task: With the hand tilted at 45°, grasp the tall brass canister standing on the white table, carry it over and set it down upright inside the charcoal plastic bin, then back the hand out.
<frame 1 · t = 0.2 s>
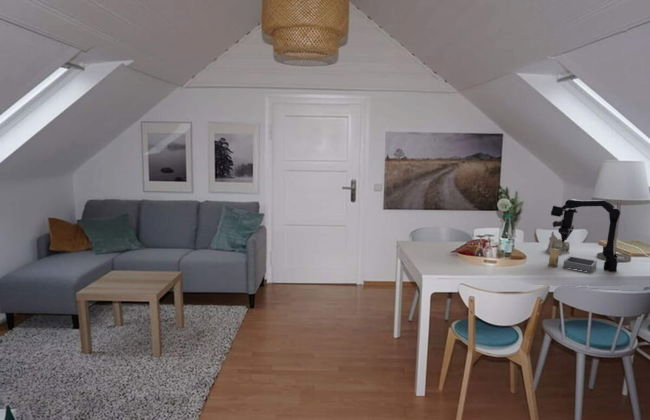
hand: (564, 241, 308), 14 cm above the table, tool pointing down, fingers open, 9 cm apart
ceramic cottage: (558, 252, 335), on the table
charcoal bin: (579, 267, 298), on the table
brass canister: (552, 266, 300), on the table
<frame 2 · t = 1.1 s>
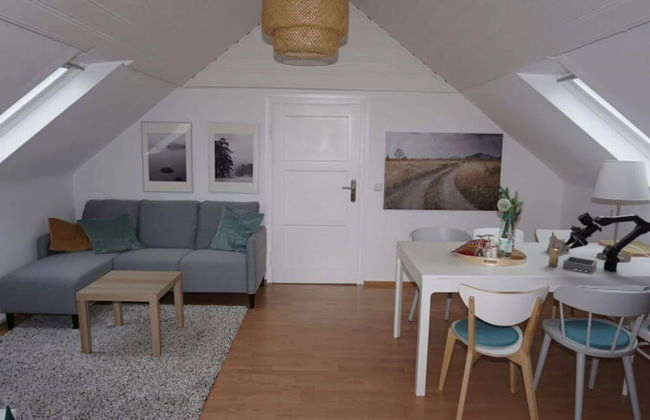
hand: (567, 246, 297), 13 cm above the table, tool tilted 45°, fingers open, 9 cm apart
nothing on the table moved.
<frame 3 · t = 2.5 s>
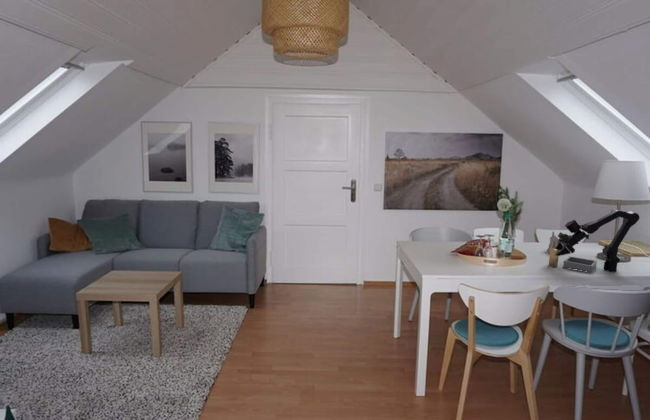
hand: (555, 253, 299), 8 cm above the table, tool tilted 45°, fingers open, 9 cm apart
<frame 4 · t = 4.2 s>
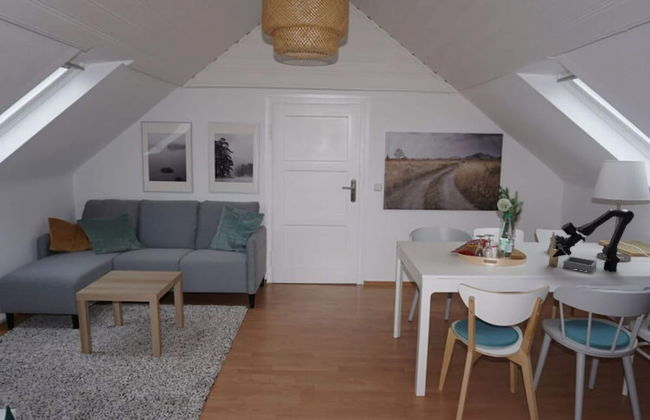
hand: (551, 255, 299), 7 cm above the table, tool tilted 45°, fingers closed on brass canister, 5 cm apart
brass canister: (552, 266, 300), on the table, touching gripper
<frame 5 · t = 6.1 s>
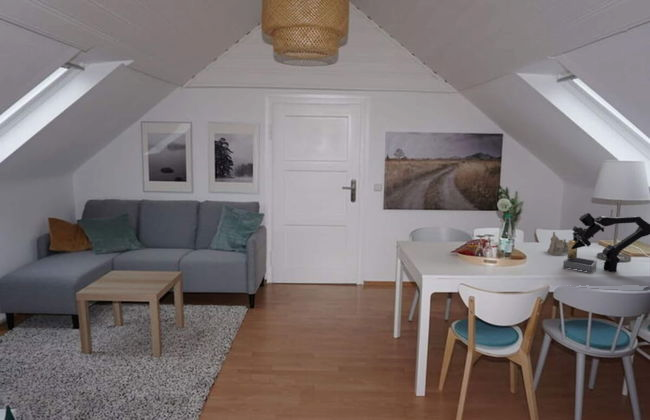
hand: (570, 247, 297), 13 cm above the table, tool tilted 45°, fingers closed on brass canister, 5 cm apart
brass canister: (571, 257, 298), point 6 cm above the table, touching gripper
when the fingers open (9 cm above the table, at t = 8.3 s): brass canister drops 1 cm, resting on charcoal bin.
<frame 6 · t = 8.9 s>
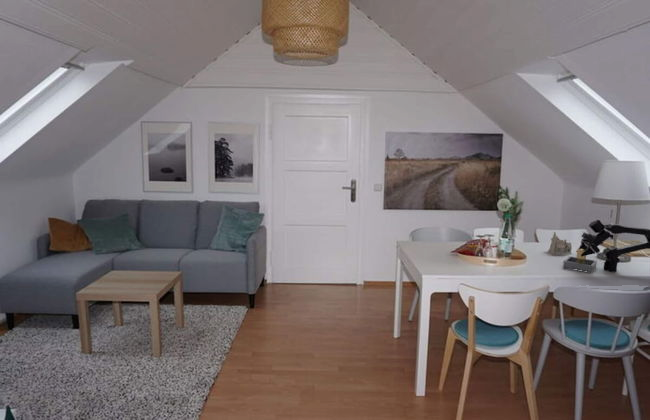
hand: (578, 253, 297), 9 cm above the table, tool tilted 45°, fingers open, 9 cm apart
brass canister: (580, 266, 298), point 1 cm above the table, touching charcoal bin
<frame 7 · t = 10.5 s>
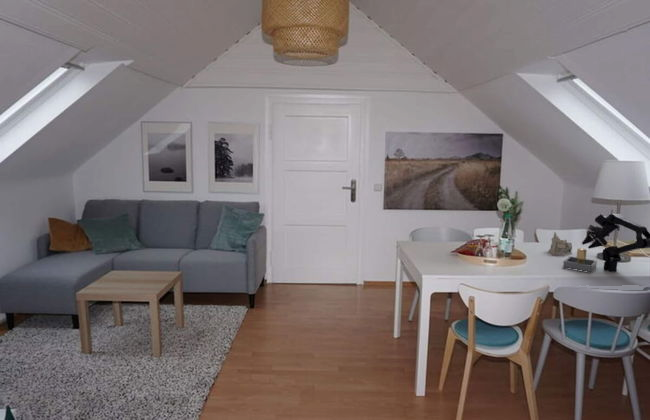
hand: (585, 246, 298), 14 cm above the table, tool tilted 45°, fingers open, 9 cm apart
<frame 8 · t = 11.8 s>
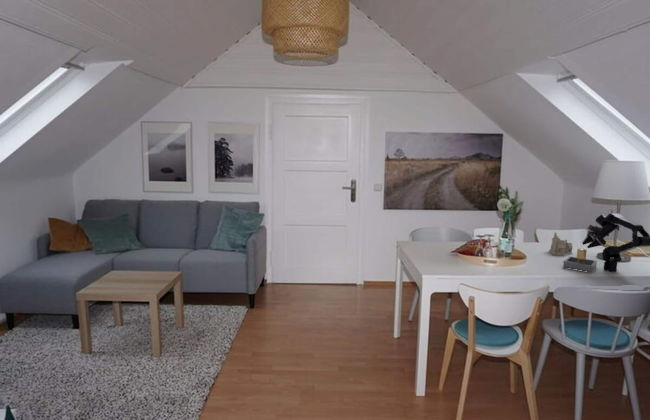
hand: (585, 245, 299), 14 cm above the table, tool tilted 45°, fingers open, 9 cm apart
at the end: brass canister inside the target area on the charcoal bin (0.1 cm from its centre), point 1.0 cm above the charcoal bin's base; brass canister tilted 0°; the gripper is holding nothing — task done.
